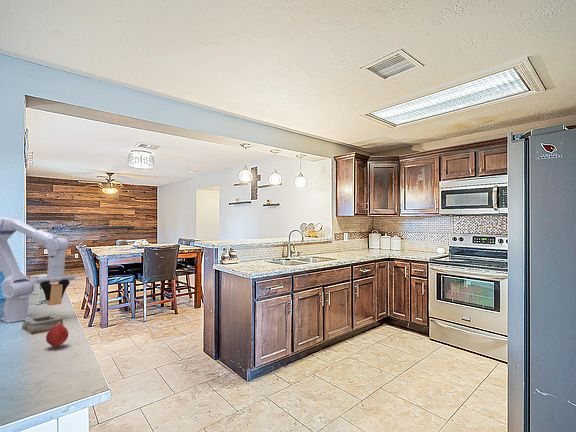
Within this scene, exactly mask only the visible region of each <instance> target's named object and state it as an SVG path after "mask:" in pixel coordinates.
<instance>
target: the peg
mask: <svg viewBox="0 0 576 432" xmlns="http://www.w3.org/2000/svg"><path fill="white" fill-rule="evenodd" d="M51 284H52V283H51ZM62 286H63V285H62V284H59V283H53V284H52V285H51V289H50V300H47V301H46V303H45V304H46V305H48V306H57V305H62V300H63V298H62Z"/></svg>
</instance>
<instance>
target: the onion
mask: <svg viewBox="0 0 576 432" xmlns="http://www.w3.org/2000/svg"><path fill="white" fill-rule="evenodd" d="M45 336H46V337H45V340H46V343H47V344H48V345H49V346H52V347H54V348H60V346H62V345H63V344H64V343H65V342H66V341H67V340H68V337H69V330H68V329H67V327H65V325H64V326H62V325H61V323H60V322H59V323H57V324H56V325H55V326H54V327H52V328H51V329H50V330H49V331H47V333H46V335H45Z"/></svg>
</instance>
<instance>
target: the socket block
mask: <svg viewBox="0 0 576 432" xmlns="http://www.w3.org/2000/svg"><path fill="white" fill-rule="evenodd" d="M59 322H60V323H61V325H62V326H64V327H65V325H64V318H62V317H60V316H58V315H56V314H47V315H43V316H37V317H31V318H29V319H24V320H23V324H22V325H21V329H22V330H24V331H25V332H27V333H28V334H31V335H36V334H40V333H46V332H47V333H48V332H49V330H50V329H51V328H52V327H54V326H55V325H56V324H57V323H59Z"/></svg>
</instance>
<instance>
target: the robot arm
mask: <svg viewBox="0 0 576 432" xmlns="http://www.w3.org/2000/svg"><path fill="white" fill-rule="evenodd" d="M16 232H19V233H21V234H24V235H26V236H29V237H31V240H32V241H33V242H34V243H36V244H39V245H41V246H43V247H45V250H46V251H47V256H48V257H47V270H46V272H47V273H46V274H47V277H43V278H34V279H33V282H31V281H30V278H29V276H27V275H26V274H23V273H22V272H21V268H20V267H19V265H18V262H17V261H16V257H15V256H14V253H13V251H12V249H11V246H10V244H9V242H8V239H10V238H11V237H12V236H13V235H14V233H16ZM69 246H70V242H69V240H68V239H67V238H66V237H63V236H62V237H59V236H58V235H57V234H52V233H51V232H49V230H48V229H44V228H43V229H42V228H41V229H36V228H34V227H33V226H32V225H29V224H27V223H26V222H24V221H22V219H19V218H17V217H13V216H12V217H8V216H7V217H6V216H0V271H1V272H2V275H3V277H4V280H3V281H2V282H1V283H0V286H1V294H2V296H3V298H4V300H5V302H4V305H3V317H0V320H1V321H3V322H5V323H7V324H8V323H9V324H10V323H15V322H21V321H22V322H23V321H24V319H29V318H32V317H31V316H29V305H30V304H29V297H30V295H31V293H32V292H33V291H34V288H35V287H34V284H38V283H40V285H41V287H42V289H43V291H44V294H45V298H46V300H50V289H51V285H52V283H53V282H54V283H55V282H56V283H57V282H58V284H62V285H63V286H62V299H63V297H64V295H65V292H66V290H67V288H68V286H69V285H70V283H71V281H76V279H77V275H74V274H73V275H65V266H66V265H65V263H66V251H67V250H68V249H69V248H70V247H69ZM33 283H34V284H33Z"/></svg>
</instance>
